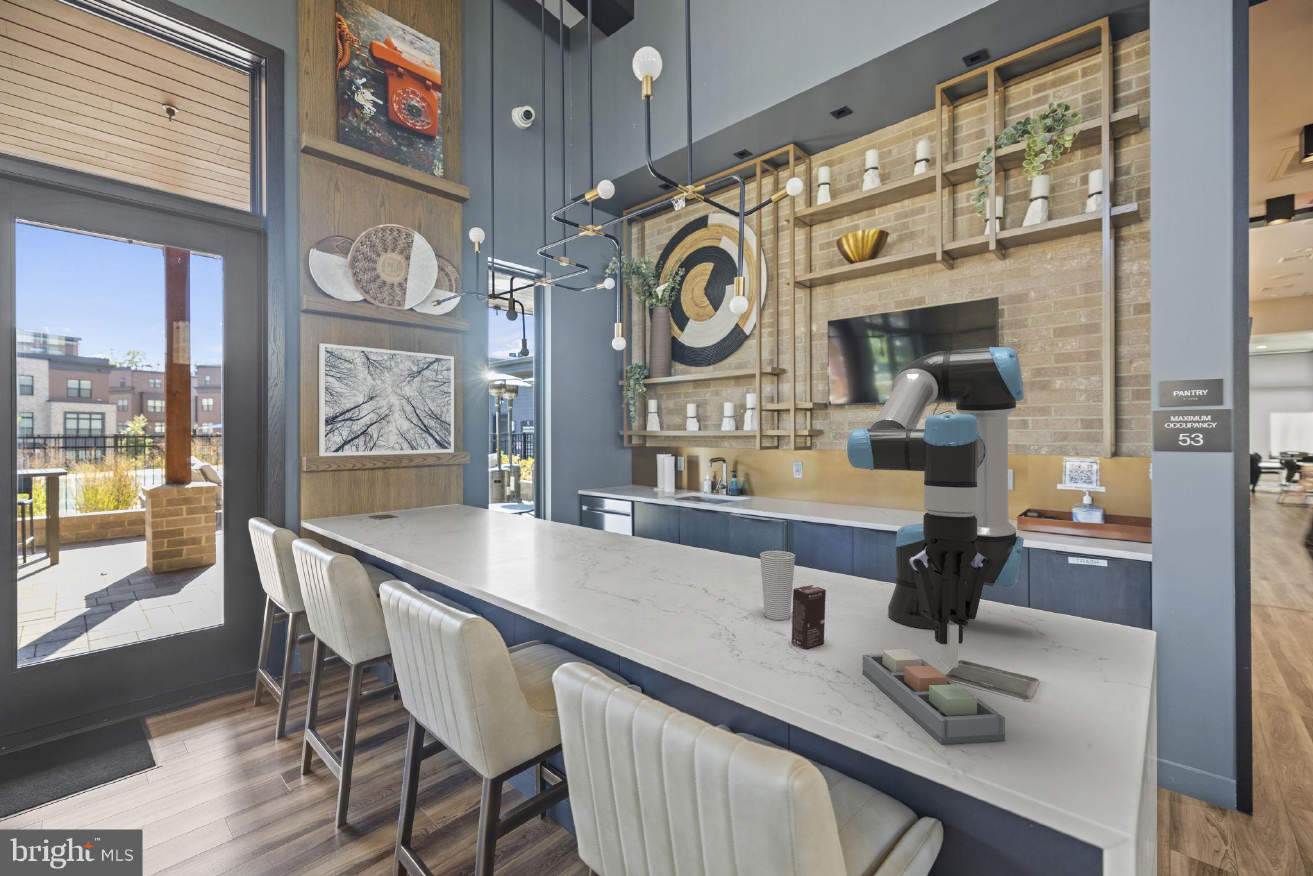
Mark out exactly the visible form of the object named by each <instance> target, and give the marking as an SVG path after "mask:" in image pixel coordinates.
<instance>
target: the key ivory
mask: <svg viewBox="0 0 1313 876" xmlns="http://www.w3.org/2000/svg"><path fill="white" fill-rule="evenodd" d="M882 654H883V663H882V664H884V665H885V666H886V667H887V668H889V669H890V670H891V671H892V672H893V673H898V672H904V666H922V660H923V659H922V658H920V657H919V656H918V655H916V654H915V653H914V652H912V651H910V650H909V649H907V648H905V649H902V648H901V649H882Z"/></svg>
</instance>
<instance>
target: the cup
mask: <svg viewBox="0 0 1313 876" xmlns="http://www.w3.org/2000/svg"><path fill="white" fill-rule="evenodd" d="M759 556H760V560H759V561H760V570H761V571H760V572H761V584H762V595H763V597H762V598H763V607H764V616H765V617H766V619H769V620H773V621H786V620H788V619H789V618H790V617H791V606H792V598H793V583H794V572H795V560H796V554H795V553H793V552H789V551H784V550H766V551H765V550H764V551H762V552H760V554H759Z"/></svg>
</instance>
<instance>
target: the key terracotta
mask: <svg viewBox="0 0 1313 876" xmlns="http://www.w3.org/2000/svg"><path fill="white" fill-rule="evenodd" d="M947 677H948V676H947V675H945V674H944V673H942V672H940V671H939V670H938V669H936V668H935V667H934V668H933V666H932V665H931V664H929V665H928V666H904V681H905V682H906V683H907V684H908V685H910V686H911V687H912V688H913V689H915V690H916V691H917V692H924V691H929V685H947Z"/></svg>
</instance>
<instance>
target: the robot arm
mask: <svg viewBox="0 0 1313 876" xmlns="http://www.w3.org/2000/svg"><path fill="white" fill-rule="evenodd" d="M1021 368H1022V367H1021V363H1020V359H1019V356H1018V352H1017V351H1016V350H1015V348H1012V347H1008V346H1006V347H1005V346H1001V347H999V346H998V347H995V346H994V347H993V346H989V347H980V348H969V349H955V350H941V351H940V350H939V351H935V352H930V353H928V354H926V355H924V356H921V357H919V358H917V359H915V360H914V361H912V362H911V363H909V364H908V365H905V366H904V367H903V368H902V369H901V370H900V371H899V372H898V374H896V376H895V378H894V379H893V381H892V385H891V394H890V395H889V396H888V399H887V400H886V401H885V403H884V405H883V407H882V408H881V410H880V411H879V413H878V415H877V416H876V418H875V420H874V421H873V423H872V425H871V426H870V428H867V427H863V428H855V429H853V430H852V431H850V433H849V436H848V439H847V446H846V452H847V458H848V459H847V460H848V462H849V464H850V465H851V467H853V468H854V469H861V470H870V471H874V470H875V471H906V472H907V471H908V472H909V471H910V472H924V473H923V475H924V476H923V479H924V480H923V509H924V510H925V511H927V512H925V513H924V514H923V516H922V517H923V519H922V520H923V523H913V524H908V525H904V526H903V525H902V526H900V528H899V529H898V530H897V532H896V540H895V541H896V543H895V545H894V546H895V587H894V590H893V592H892V595H891V598H890V601H889V604H888V609H887V611H888V612H887V613H888V614H887V615H888V618H890V619H891V620H892V621H894V622H896V623H899V624H902V625H905V626H909V627H914V628H920V629H926V630H927V629H930V630H934V641H935V642H937V643H938V645H939V646H938V661H939V662H940V663H941V664H943V665H944V666H946V667H948V668H952V669H953V668H959V647H960V646H959V645H961V644H963V641H964V627H965V626H968V624H969V620H972V621H973V620H975V619H976V618H977V614H978V610H979V607H980V602H981V597H982V593H983V589H984V586H989V587H992V588H994V587H999V588H1000V587H1001V588H1012V587H1014V586H1016V584H1017V583H1018V577H1019V572H1020V565H1021V559H1022V554H1023V546H1024V543H1025V542H1024V540H1025V539H1024V537H1021V536H1020V535H1017V528H1016V527H1015V526H1014V525H1013V524H1012V523H1011V522H1010V521H1009V417H1010V415H1011V414H1012V413H1013V412H1014V411H1015V410H1016V409H1017V402H1020V401H1022V400H1024V397H1025V394H1024V393H1025V392H1024V383H1023V376H1022V375H1023V374H1022V369H1021ZM939 402H940V403H943V402H945V403H952V402H953V403H955V410H956V412H958V413H956V414H952V413H951V414H950V413H948V414H932V415H929V416H927V417H926V419H925V422H924V428H917V426H918V424H919V422H920V421H921V419H922V416H923V414H924V412H925V410H926V408H928V407H929V406H931V404H933V403H939Z"/></svg>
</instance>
